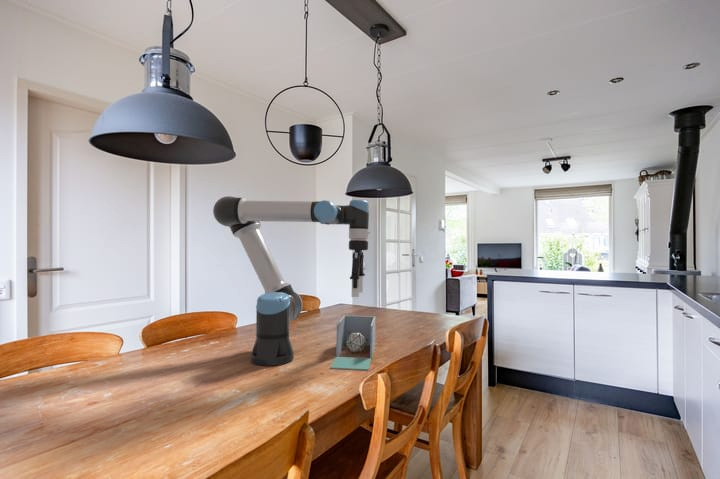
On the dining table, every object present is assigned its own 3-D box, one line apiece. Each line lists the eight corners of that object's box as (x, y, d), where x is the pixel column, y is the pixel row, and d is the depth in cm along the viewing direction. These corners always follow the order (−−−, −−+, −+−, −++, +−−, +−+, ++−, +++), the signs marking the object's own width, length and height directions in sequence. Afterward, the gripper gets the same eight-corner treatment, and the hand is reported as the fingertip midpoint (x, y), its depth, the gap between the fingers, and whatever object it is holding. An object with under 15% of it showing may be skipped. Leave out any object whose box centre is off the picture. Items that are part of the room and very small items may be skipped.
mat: (330, 368, 125) (330, 367, 125) (336, 357, 137) (336, 356, 137) (368, 370, 124) (368, 369, 124) (371, 359, 136) (371, 358, 136)
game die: (360, 363, 143) (368, 346, 138) (339, 354, 143) (346, 337, 138) (364, 346, 151) (372, 329, 145) (345, 338, 151) (352, 321, 146)
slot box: (336, 356, 138) (336, 324, 139) (343, 344, 156) (343, 315, 156) (372, 358, 137) (372, 325, 137) (375, 345, 155) (375, 316, 155)
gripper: (365, 239, 132) (363, 299, 132) (370, 240, 157) (369, 290, 156) (344, 239, 133) (342, 298, 132) (352, 240, 158) (351, 290, 157)
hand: (357, 294), depth 144 cm, fingers open, 13 cm apart
